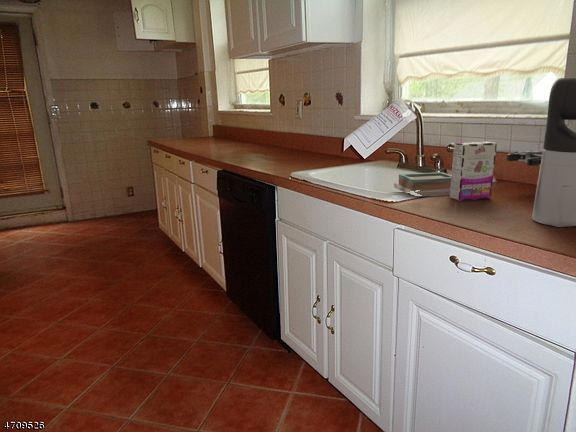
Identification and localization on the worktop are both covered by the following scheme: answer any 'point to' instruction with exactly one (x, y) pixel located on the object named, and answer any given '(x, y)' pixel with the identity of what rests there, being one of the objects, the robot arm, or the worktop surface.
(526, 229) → the worktop surface
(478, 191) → the candy bar box
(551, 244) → the worktop surface
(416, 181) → the foundation
